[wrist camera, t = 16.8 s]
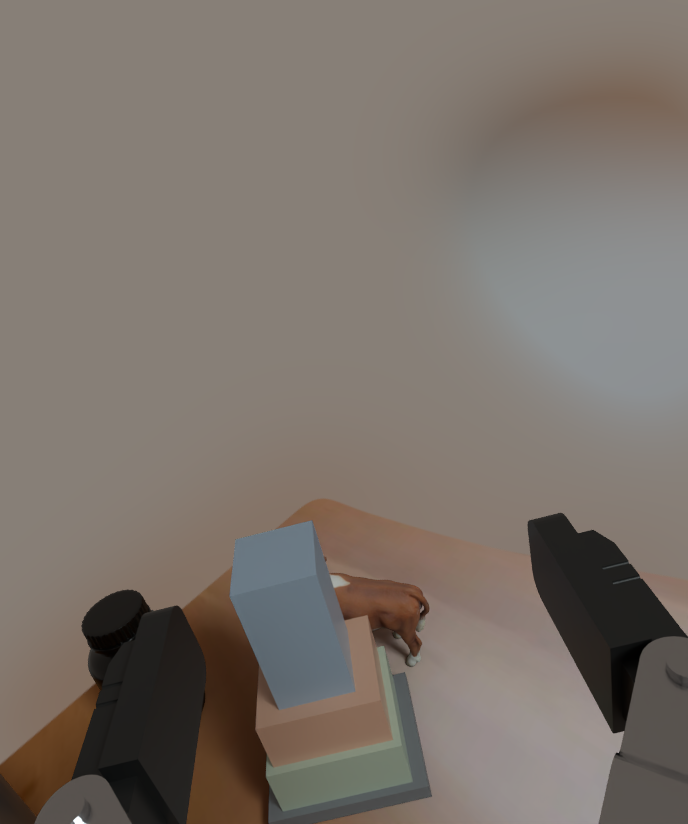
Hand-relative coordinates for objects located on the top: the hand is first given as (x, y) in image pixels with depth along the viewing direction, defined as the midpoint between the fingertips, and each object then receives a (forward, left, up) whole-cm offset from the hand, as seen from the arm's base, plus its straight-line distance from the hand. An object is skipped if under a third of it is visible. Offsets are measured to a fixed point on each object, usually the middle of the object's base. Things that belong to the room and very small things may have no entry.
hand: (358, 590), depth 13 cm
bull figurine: (-3, +28, -32) cm, 43 cm away
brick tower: (-6, +18, -32) cm, 37 cm away
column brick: (-6, +18, -23) cm, 30 cm away
